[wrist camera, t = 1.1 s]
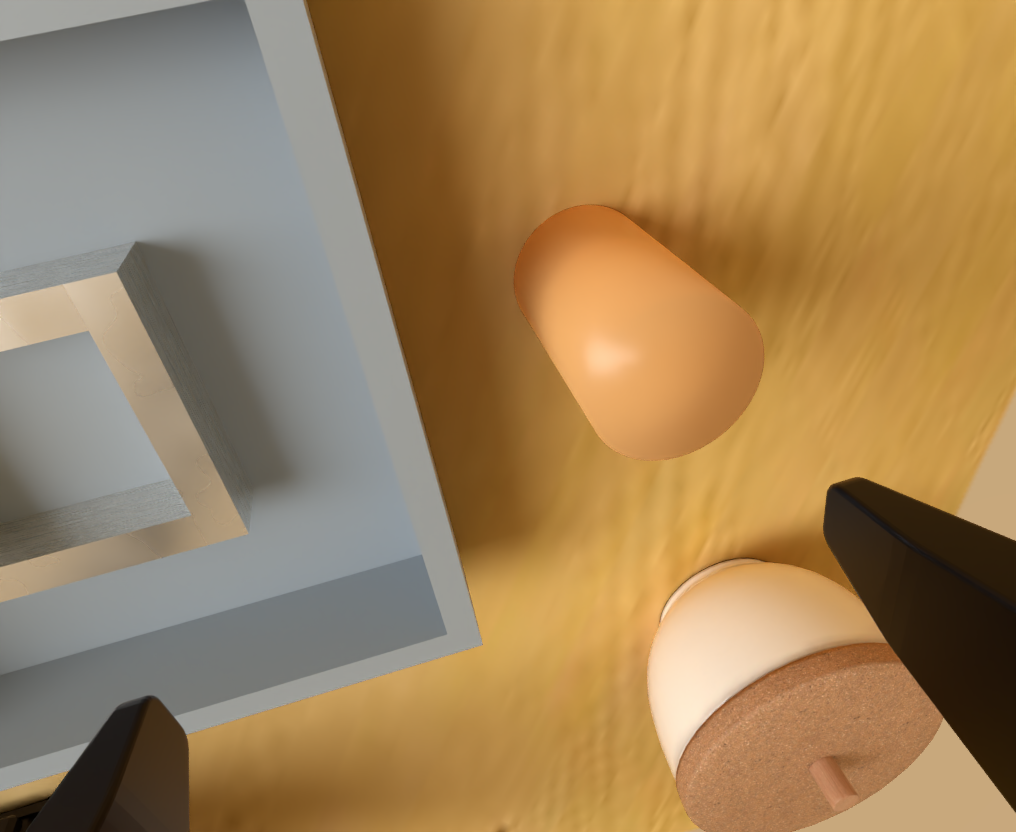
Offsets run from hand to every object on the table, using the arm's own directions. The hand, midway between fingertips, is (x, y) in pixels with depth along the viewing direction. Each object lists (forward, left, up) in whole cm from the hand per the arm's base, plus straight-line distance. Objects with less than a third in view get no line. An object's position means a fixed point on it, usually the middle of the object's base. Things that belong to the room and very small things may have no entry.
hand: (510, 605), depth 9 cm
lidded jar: (-20, -10, -14) cm, 27 cm away
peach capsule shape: (-2, -5, -14) cm, 15 cm away
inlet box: (-2, +11, -14) cm, 17 cm away
